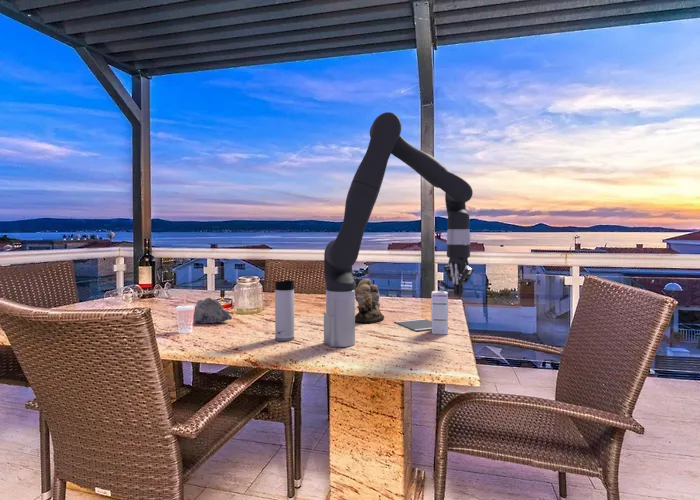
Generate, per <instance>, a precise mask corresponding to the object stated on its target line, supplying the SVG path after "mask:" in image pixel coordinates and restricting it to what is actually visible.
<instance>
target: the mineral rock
mask: <svg viewBox="0 0 700 500" xmlns="http://www.w3.org/2000/svg"><path fill="white" fill-rule="evenodd" d="M232 319H233V316H232V315H231V314H230V312H229V311H227V310H225V309H224V307H223V306H222V304H221V303H220V302H218V301H216V300H215V299H212V298H211V297H207V298H205V299H199V300H198V301H197V303H196V304H195V306H194V310H193V324H198V325H199V324H202V325H203V324H208V323H209V324H218V323H220V322H222V323H223V322H226V321H228V320H230V321H231V320H232Z"/></svg>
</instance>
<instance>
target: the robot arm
mask: <svg viewBox="0 0 700 500" xmlns="http://www.w3.org/2000/svg"><path fill="white" fill-rule="evenodd" d="M401 133H402V123H401V119H400V118H399V117H398V115H397V114H395V113H394V112H391V111H388V112H383V113H381V114H379V115H377V116H376V118H374V120H373V123H372V125H371V126H370V128H369V137H370V140H369V143H368V147H367V149H366V152H365V154H364V156H363V157H362V160H361V161H360V163H359V166H358V167H357V169H356V172H355V174H354V176H353V178H352V181H351V182H350V185H349V188H348V192H347V195H346V199H345V205H344V213H343V215H344V216H343V221H342V224H341V227H340V228H339V231H338V233H337V235H336V238H335V239H332V240H331V241H329V243H328V244H327V245H326V247H325V249H324V254H323V256H324V257H323V258H324V260H323V262H324V263H323V265H324V266H323V267H324V269H323V270H324V271H323V272H324V281H325V312H324V313H323V343H324V344H325V345H327V346H328V347H330V348H342V347H343V348H346V347H352V346H353V345H355V343H356V322H355V316H356V298H355V290H356V280H355V279H354V274H353V266H354V265H355V263H356V262H357V260H358V257H359V253H360V249H361V246H362V245H361V244H362V240H363V236H364V234H365V229H366V226H367V225H368V223H369V220H370V218H371V215H372V212H373V209H374V207H375V204H376V202H377V198H378V196H379V193H380V190H381V187H382V183H383V180H384V177H385V173H386V169H387V165H388V162H389V158H390V157H391V155H392V156H394V157H395V158H397V159H398V160H400V161H401V162H402V163H404V164H406V166H408V167H409V168H410V169H412V170H413V171H414V172H416V173H417V174H419V176H420V177H421V178H422V179H424V180H425V181H426V182H428V184H430V185H431V186H432V187H434V188H437V189H440V190H442V191H443V192H445V194H444V198H445V200H444V201H445V209H446V213H447V233H446V257H447V258H448V264H447V265H443V270H444V271H445V273H446V274H445V275H446V276H447V279H448V280H449V282H452V284H453V295H454V296H457V297H458V296H459V297H460V296H461V297H462V295H463V292H464V291H463V287H464V286H463V285H464V284H466V283H468V282H469V280H470V278H471V277H472V274H473V273H474V268H471V267H470V266H469V260H468V259H469V258H470V257H471V233H470V231H471V230H470V214H469V213H468V211H467V205H466V203H467V202H469V201H470V200H471V199H472V197H473V194H474V193H473V188H472V186H471V185H470V183H469V182H468V181H466V179H464V178H462V177H460V176H459V175H457V174H455V173H454V172H452V171H450V170H448V168H447V167H446V166H444V165H443V164H442V163H441V162H440V161H438V160H437V158H435V157H434V156H432V155H430V154H429V153H427V152H425V151H423V150H421V149H419V148H417V147H416V146H413V144H411V143H409V142H408V141H407V140H405V139H404V138H403V136H402V135H401Z"/></svg>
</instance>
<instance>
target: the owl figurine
mask: <svg viewBox="0 0 700 500" xmlns="http://www.w3.org/2000/svg"><path fill="white" fill-rule="evenodd" d="M380 296H381V295H380V291H379V289H378V285H377V284H372V280H371V279H370V278H363V279H361V280H360V281H359V282H358V284H357V287H355V302H357V304H358V305H357V306H356V308H357V310H358V313H355V323H361V324H362V323H363V324H366V325H367V324H368V325H370V324H372V323H373V324H376V323H379V322H380V323H381V322H382V321H384V320H385V316H384V314H383V313H382V311H381V309H380V306H381V303H379V302H380Z"/></svg>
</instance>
